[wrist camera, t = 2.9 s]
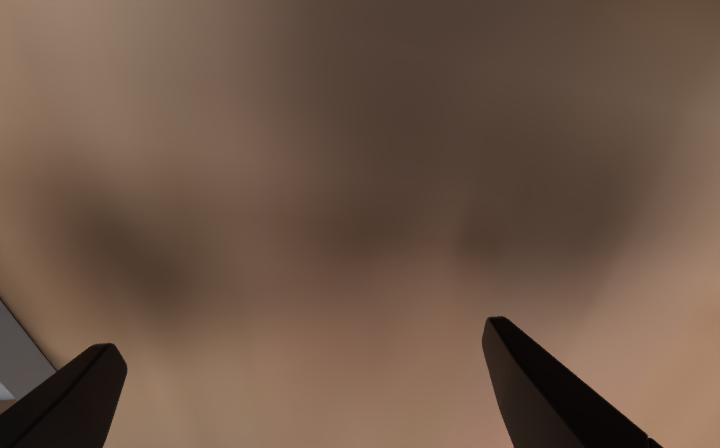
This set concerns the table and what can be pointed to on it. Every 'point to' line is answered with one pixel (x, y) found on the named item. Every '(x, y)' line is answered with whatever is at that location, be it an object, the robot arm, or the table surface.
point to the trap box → (18, 362)
